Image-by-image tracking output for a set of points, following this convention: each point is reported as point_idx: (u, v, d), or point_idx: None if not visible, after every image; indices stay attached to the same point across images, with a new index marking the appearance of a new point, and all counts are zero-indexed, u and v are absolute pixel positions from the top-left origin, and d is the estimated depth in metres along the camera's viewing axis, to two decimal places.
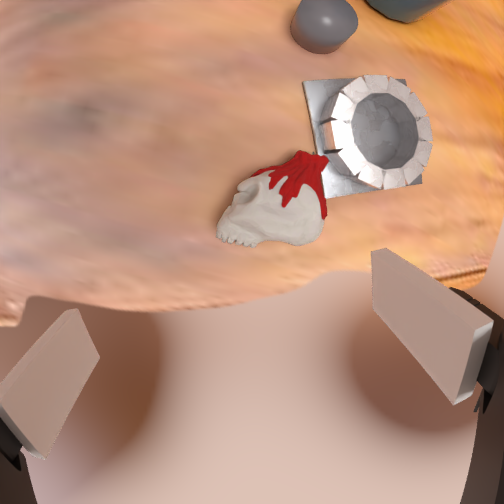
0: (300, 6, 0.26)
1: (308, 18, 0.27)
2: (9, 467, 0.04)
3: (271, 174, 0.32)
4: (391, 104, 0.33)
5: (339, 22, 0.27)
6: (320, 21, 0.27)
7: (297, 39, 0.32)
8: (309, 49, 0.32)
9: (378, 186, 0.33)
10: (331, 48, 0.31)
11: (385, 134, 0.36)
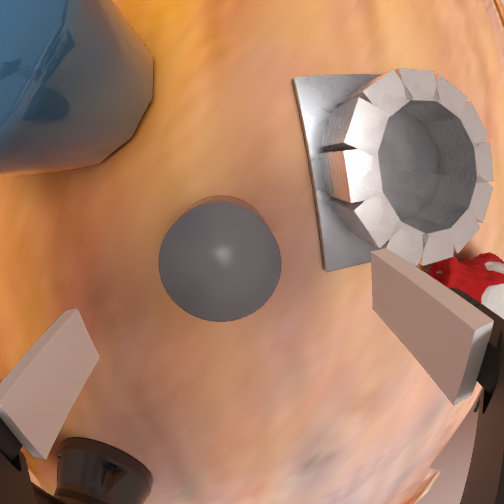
0: (212, 319, 0.19)
1: (239, 306, 0.19)
2: (9, 467, 0.04)
3: None
4: None
5: (236, 247, 0.18)
6: (242, 285, 0.19)
7: None
8: None
9: (490, 190, 0.18)
10: None
11: (398, 135, 0.22)
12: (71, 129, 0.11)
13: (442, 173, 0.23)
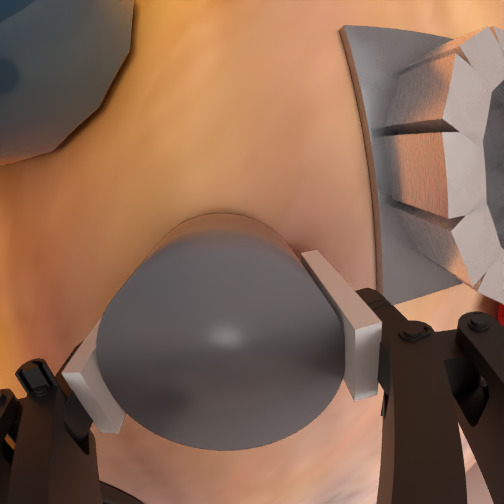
0: (210, 448, 0.09)
1: (259, 432, 0.09)
2: (76, 452, 0.05)
3: None
4: None
5: (257, 345, 0.08)
6: (267, 405, 0.09)
7: None
8: None
9: None
10: None
11: None
12: None
13: None
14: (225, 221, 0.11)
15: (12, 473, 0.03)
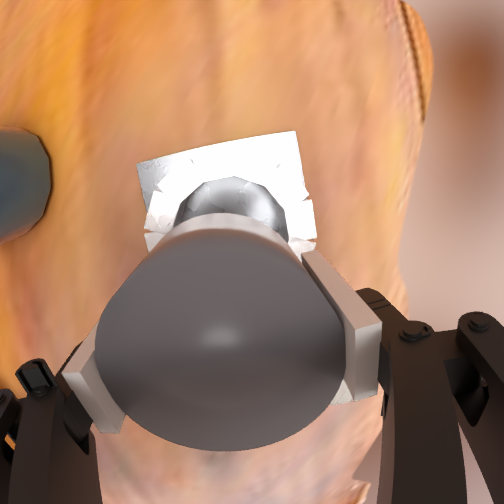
0: (209, 449, 0.09)
1: (259, 433, 0.09)
2: (76, 452, 0.05)
3: None
4: (183, 203, 0.27)
5: (256, 345, 0.08)
6: (267, 406, 0.09)
7: None
8: None
9: (312, 246, 0.26)
10: None
11: (228, 198, 0.29)
12: None
13: (280, 226, 0.30)
14: (224, 221, 0.11)
15: (12, 473, 0.03)
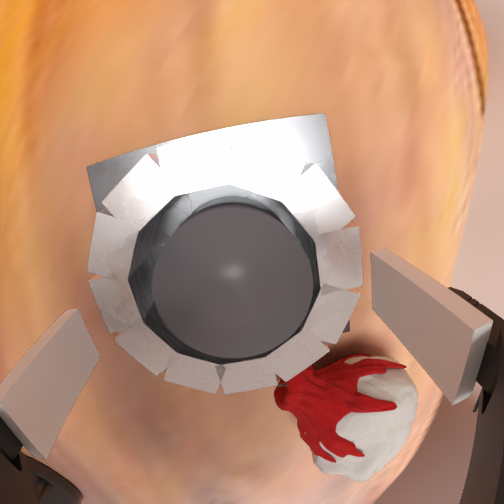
0: (222, 355, 0.15)
1: (257, 340, 0.15)
2: (9, 467, 0.04)
3: (314, 452, 0.19)
4: (150, 228, 0.17)
5: (255, 267, 0.14)
6: (262, 315, 0.14)
7: None
8: None
9: (355, 299, 0.15)
10: None
11: None
12: None
13: None
14: (236, 199, 0.17)
15: None
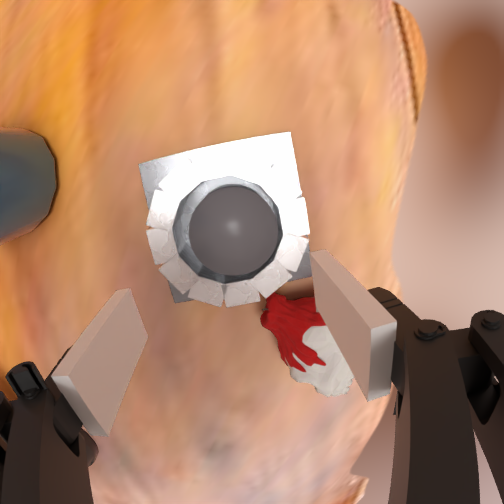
0: (226, 273, 0.26)
1: (247, 263, 0.26)
2: (67, 453, 0.05)
3: (289, 364, 0.30)
4: (183, 201, 0.28)
5: (246, 218, 0.25)
6: (250, 247, 0.26)
7: None
8: None
9: (306, 242, 0.27)
10: None
11: None
12: (0, 234, 0.20)
13: None
14: None
15: (4, 474, 0.03)
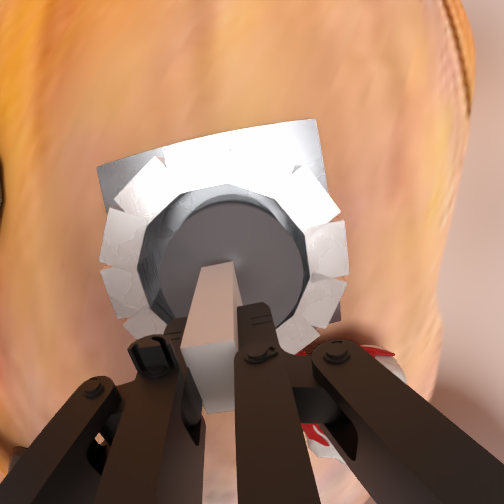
0: None
1: None
2: (188, 444, 0.06)
3: (308, 436, 0.20)
4: (156, 223, 0.18)
5: (252, 258, 0.15)
6: (257, 301, 0.16)
7: None
8: None
9: (342, 287, 0.17)
10: None
11: None
12: None
13: None
14: (236, 197, 0.18)
15: (105, 469, 0.04)
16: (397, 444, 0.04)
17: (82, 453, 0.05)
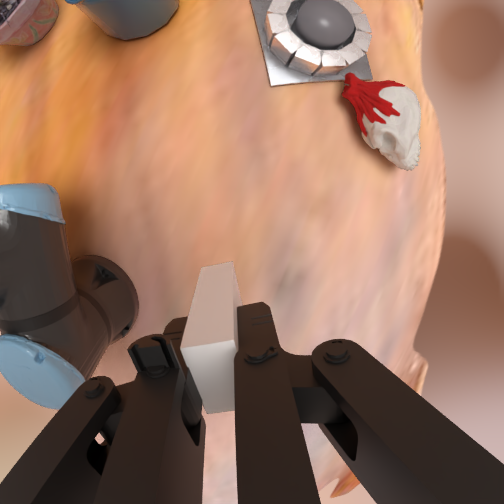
0: (322, 38, 0.30)
1: (336, 36, 0.30)
2: (188, 444, 0.06)
3: (371, 120, 0.34)
4: (286, 12, 0.32)
5: (335, 13, 0.29)
6: (337, 27, 0.29)
7: None
8: None
9: (370, 36, 0.31)
10: None
11: None
12: None
13: None
14: None
15: (105, 469, 0.04)
16: (397, 444, 0.04)
17: (81, 454, 0.05)
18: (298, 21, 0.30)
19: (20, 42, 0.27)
